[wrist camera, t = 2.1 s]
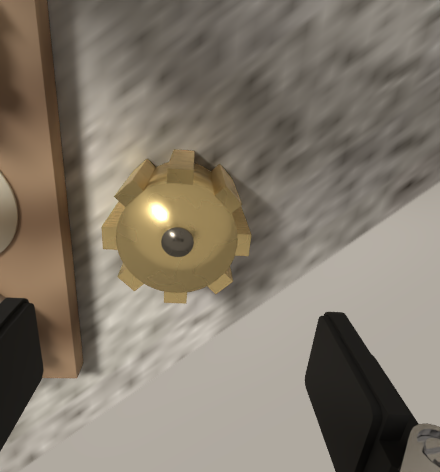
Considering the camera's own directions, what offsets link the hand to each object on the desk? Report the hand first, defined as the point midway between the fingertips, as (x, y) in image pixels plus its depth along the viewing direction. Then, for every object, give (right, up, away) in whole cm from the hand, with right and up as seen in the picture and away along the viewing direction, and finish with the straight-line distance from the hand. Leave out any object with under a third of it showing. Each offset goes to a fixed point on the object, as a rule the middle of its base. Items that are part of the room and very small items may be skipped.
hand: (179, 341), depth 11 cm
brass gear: (-1, +5, +10) cm, 11 cm away
